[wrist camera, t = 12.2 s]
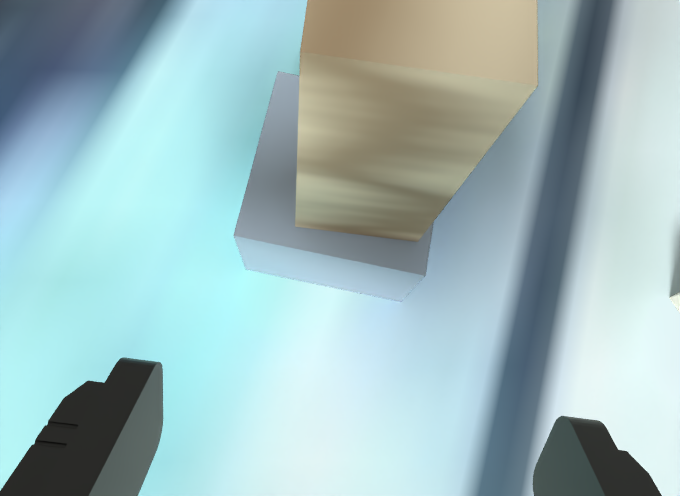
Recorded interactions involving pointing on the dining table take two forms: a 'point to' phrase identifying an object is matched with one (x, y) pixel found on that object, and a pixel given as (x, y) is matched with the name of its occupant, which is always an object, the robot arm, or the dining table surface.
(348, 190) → the oak block
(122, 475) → the robot arm
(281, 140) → the blue base block
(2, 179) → the dining table surface
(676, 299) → the cream block
